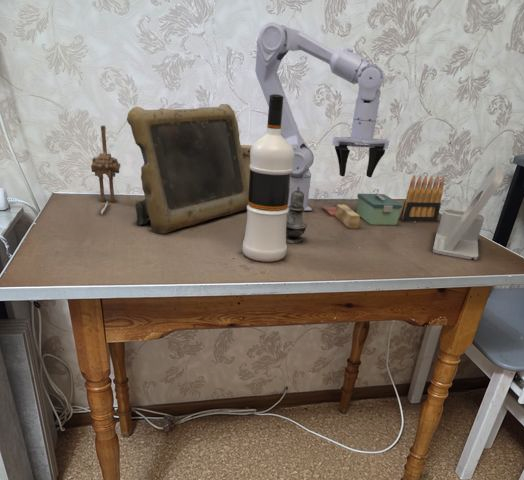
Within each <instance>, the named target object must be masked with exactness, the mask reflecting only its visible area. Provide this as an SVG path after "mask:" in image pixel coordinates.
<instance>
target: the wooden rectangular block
mask: <svg viewBox="0 0 524 480" xmlns="http://www.w3.org/2000/svg"><path fill="white" fill-rule="evenodd" d="M322 210H324V212H326V213H327V214H328V215H329V216H330V217H336V218H337V219H338V220H339V221H340V222H341V223H342V224H344V225H345V226H346V227H347V228H348V229H359V226H360V220H361V217H360V216H359V215H358V214H357V213H356V211H354V210H353V209H352V208H350V207H349V206H348V205H346V203H345V204H343V203H341V204H340V203H338V204H336V206H322Z"/></svg>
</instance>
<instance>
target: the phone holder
mask: <svg viewBox="0 0 524 480" xmlns="http://www.w3.org/2000/svg"><path fill="white" fill-rule="evenodd" d="M503 180H504V176H503V173H502V170H501V168H499V167H497V166H496V165H492V167H491V168H490V169H489V171H488V172H487V174H486V175H485V177H483V179H482V181H481V183H480V185H479V187H478V188H477V190H476V192H475V194H474V196H473V198H472V199H471V201H470V203H469V205H468V206H467V208H466V209H465V210H464V211H461V210H454V209H444V210H443V211H442V213H441V217H440V220H439V224H438V227H437V231H436V234H435V237H434V242H433V247H432V252H433V253H435V254H437V255H444V256H449V257H455V258H460V259H465V260H472V259H473V260H474V261H476V260H478V258H479V242H478V241H479V237H480V233H481V230H482V227H483V223H484V220H485V217H484V215H482V214H480V213H481V212H482V210H483V208H484V207H485V206H486V204H487V203H488V202H489V201H490V199H491V198H492V196H493V195H494V194H495V192H496V191H497V189H498V188H499V187H500V185H501V184H502V182H503Z"/></svg>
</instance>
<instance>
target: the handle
mask: <svg viewBox="0 0 524 480" xmlns="http://www.w3.org/2000/svg"><path fill="white" fill-rule="evenodd" d="M240 145H241V148H242V152H243V160H244V163H245V164H244V169H245V173H246V179H247V185H248V190H249V179H250V167H249V165H250V149H251V147H252V145H250V144H240Z"/></svg>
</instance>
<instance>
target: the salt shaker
mask: <svg viewBox="0 0 524 480" xmlns="http://www.w3.org/2000/svg"><path fill="white" fill-rule="evenodd" d="M299 189H300V187H299V186H298V188H297V190H296V191H294V192H292V194H291V203H290V206H289V207H288V208H289V211H288V216H287V221H286V244H287V243H288V244H297V245H299V244H303V243H304V242H305V239H304V238H303V237H302V235H304V234H305V232H306V230H307V228H308V224H307V223H305V222H304V221H303V213H304V211H303V210H304V207H303V202H304V193H303V192H301V191H300V190H299Z"/></svg>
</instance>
